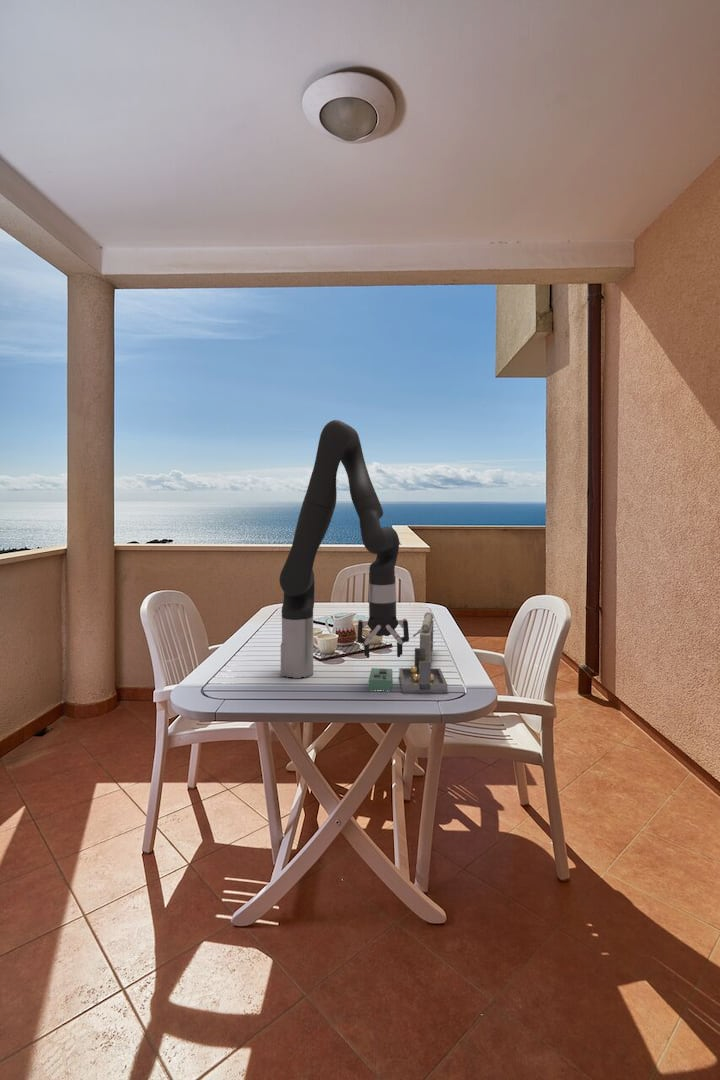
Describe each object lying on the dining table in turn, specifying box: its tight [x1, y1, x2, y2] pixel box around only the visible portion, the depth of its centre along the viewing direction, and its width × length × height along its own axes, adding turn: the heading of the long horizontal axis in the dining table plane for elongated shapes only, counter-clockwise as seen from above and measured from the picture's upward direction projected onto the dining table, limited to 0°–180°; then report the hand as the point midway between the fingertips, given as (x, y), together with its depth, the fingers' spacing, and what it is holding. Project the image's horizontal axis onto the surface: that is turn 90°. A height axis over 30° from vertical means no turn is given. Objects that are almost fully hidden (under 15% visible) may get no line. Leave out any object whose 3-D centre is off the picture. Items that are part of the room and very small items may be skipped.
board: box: [368, 667, 393, 692], centre depth 140 cm, size 6×10×4 cm, turn 174°
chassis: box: [398, 647, 448, 695], centre depth 140 cm, size 12×13×8 cm
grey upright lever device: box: [412, 611, 436, 663], centre depth 166 cm, size 14×6×25 cm
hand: (383, 656), depth 140 cm, fingers open, 8 cm apart
